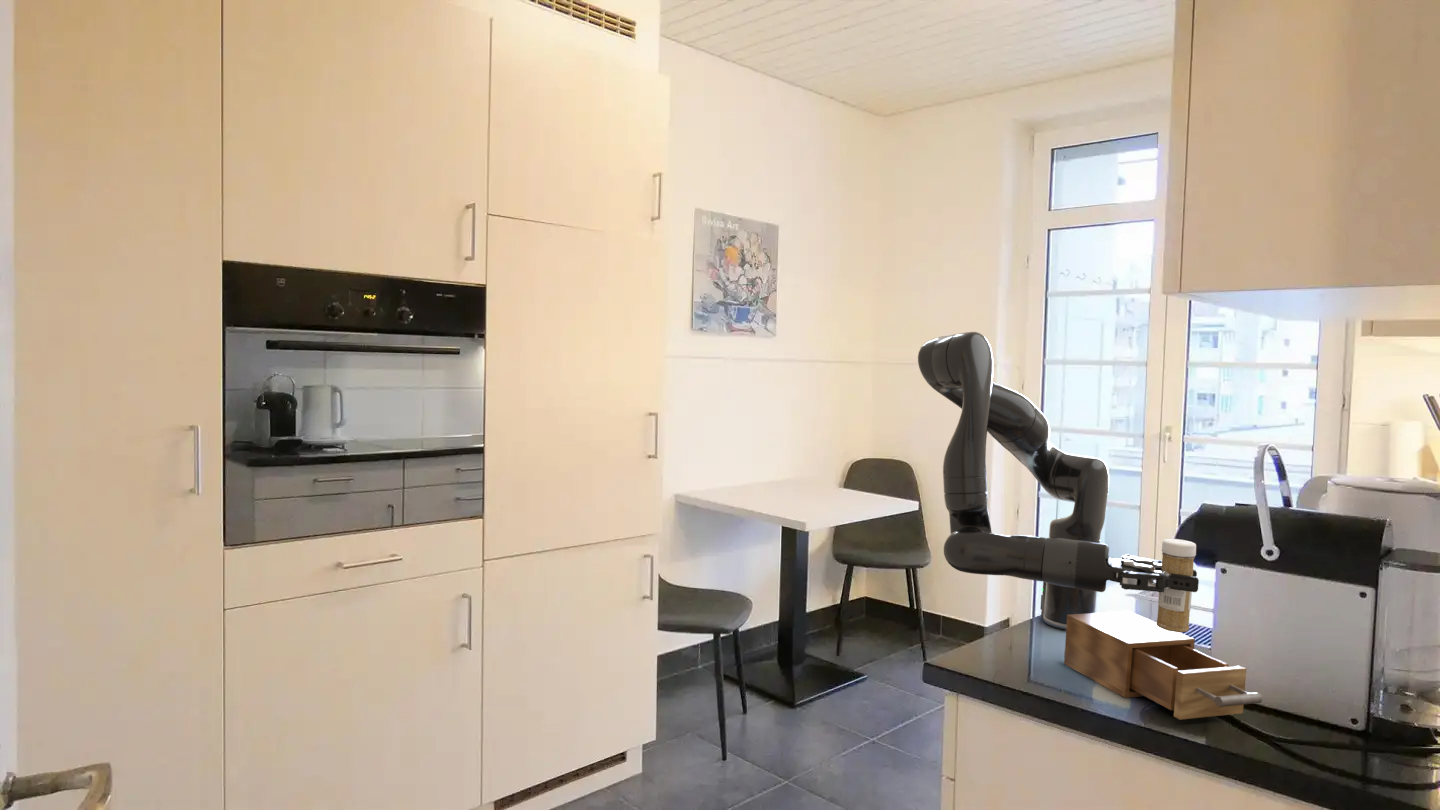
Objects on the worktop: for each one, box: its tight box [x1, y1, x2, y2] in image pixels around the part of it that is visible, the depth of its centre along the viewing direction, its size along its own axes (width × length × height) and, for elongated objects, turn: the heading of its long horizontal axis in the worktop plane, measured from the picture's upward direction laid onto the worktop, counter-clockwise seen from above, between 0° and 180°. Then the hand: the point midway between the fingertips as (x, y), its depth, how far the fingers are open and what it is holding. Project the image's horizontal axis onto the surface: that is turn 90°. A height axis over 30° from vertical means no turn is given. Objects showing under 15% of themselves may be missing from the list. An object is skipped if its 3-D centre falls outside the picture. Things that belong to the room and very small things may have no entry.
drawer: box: [1130, 644, 1263, 721], centre depth 132 cm, size 18×11×7 cm, turn 16°
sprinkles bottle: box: [1156, 538, 1197, 633], centre depth 134 cm, size 5×5×13 cm
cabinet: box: [1063, 610, 1196, 699], centre depth 145 cm, size 15×13×9 cm
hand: (1196, 580), depth 132 cm, fingers closed on sprinkles bottle, 4 cm apart
